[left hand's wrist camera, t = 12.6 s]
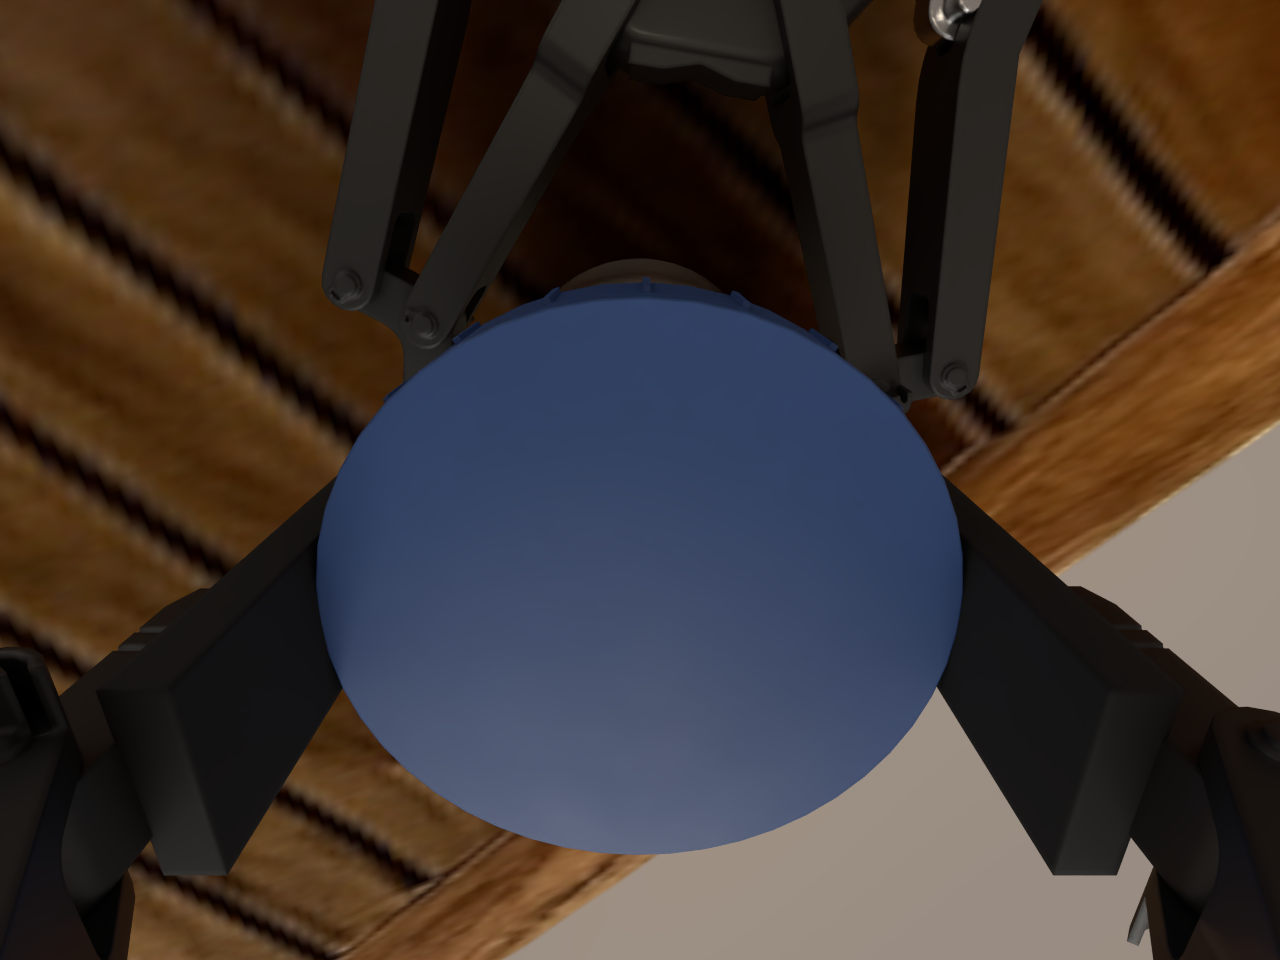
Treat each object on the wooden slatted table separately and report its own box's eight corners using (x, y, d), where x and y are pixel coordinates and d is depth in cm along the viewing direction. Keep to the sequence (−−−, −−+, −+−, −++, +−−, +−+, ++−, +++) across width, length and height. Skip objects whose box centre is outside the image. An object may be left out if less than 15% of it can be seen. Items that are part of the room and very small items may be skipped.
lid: (313, 269, 10) (249, 282, 8) (975, 282, 10) (1041, 297, 9) (392, 775, 14) (358, 854, 12) (877, 782, 14) (909, 861, 12)
